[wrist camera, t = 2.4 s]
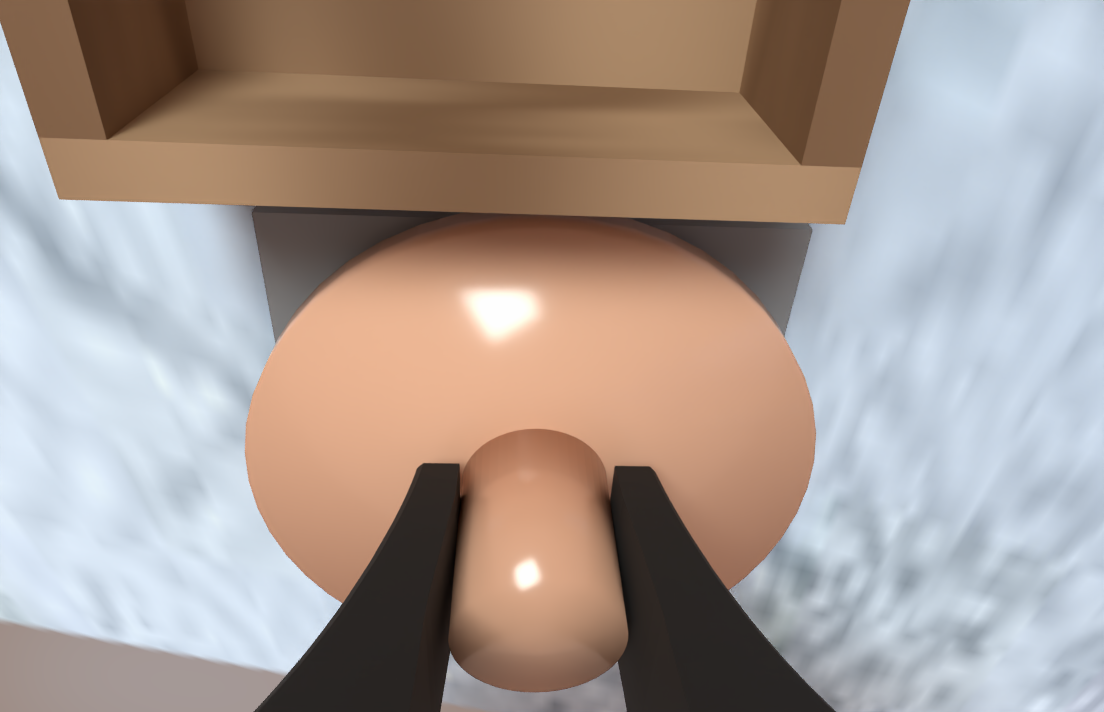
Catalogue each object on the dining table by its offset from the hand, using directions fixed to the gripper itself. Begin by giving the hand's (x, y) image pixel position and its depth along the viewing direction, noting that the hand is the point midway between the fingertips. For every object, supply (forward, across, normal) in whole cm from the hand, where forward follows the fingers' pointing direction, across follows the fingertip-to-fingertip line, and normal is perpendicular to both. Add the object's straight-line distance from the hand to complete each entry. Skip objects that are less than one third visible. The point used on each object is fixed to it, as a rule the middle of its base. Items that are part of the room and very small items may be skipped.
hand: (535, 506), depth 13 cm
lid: (+1, 0, 0) cm, 1 cm away
